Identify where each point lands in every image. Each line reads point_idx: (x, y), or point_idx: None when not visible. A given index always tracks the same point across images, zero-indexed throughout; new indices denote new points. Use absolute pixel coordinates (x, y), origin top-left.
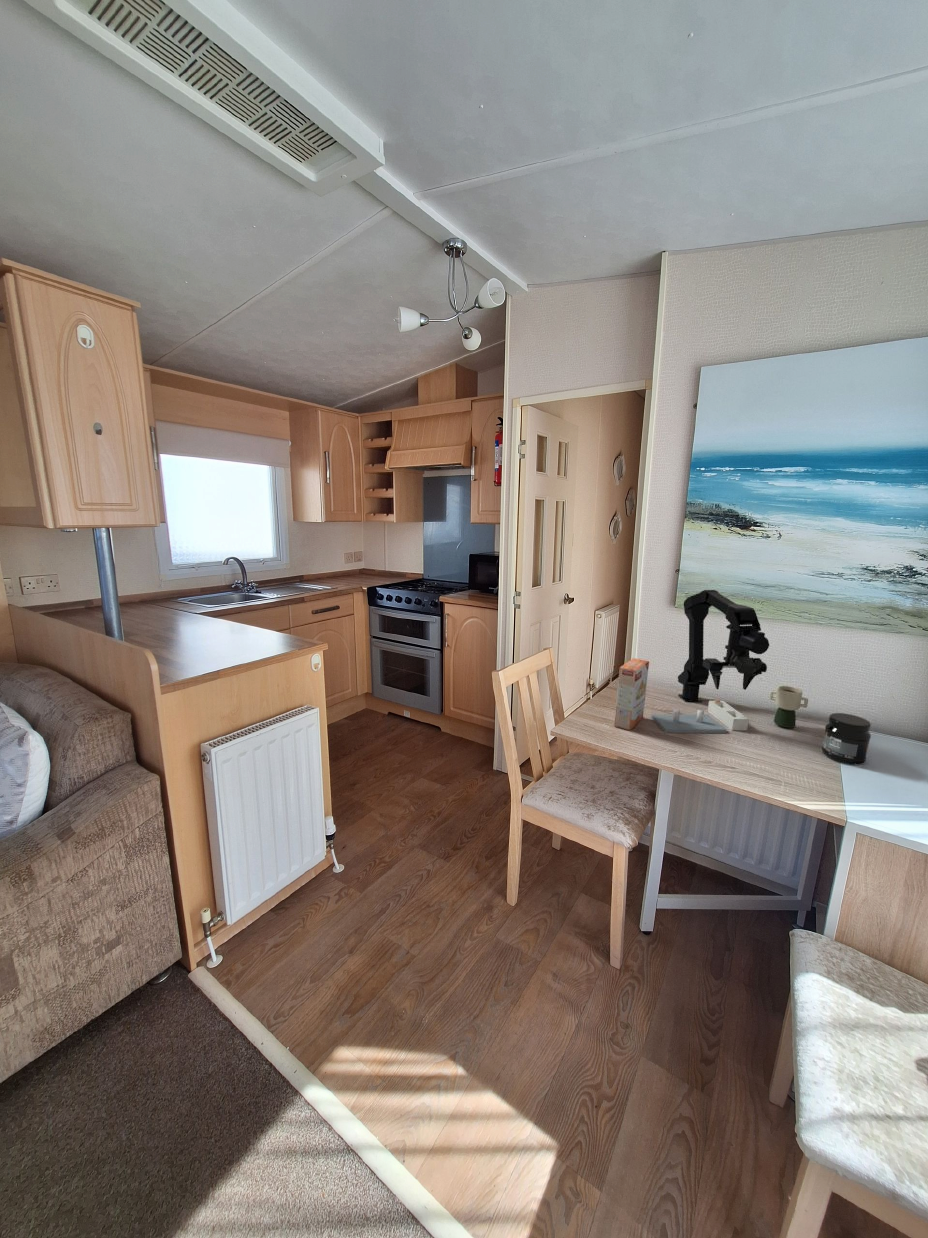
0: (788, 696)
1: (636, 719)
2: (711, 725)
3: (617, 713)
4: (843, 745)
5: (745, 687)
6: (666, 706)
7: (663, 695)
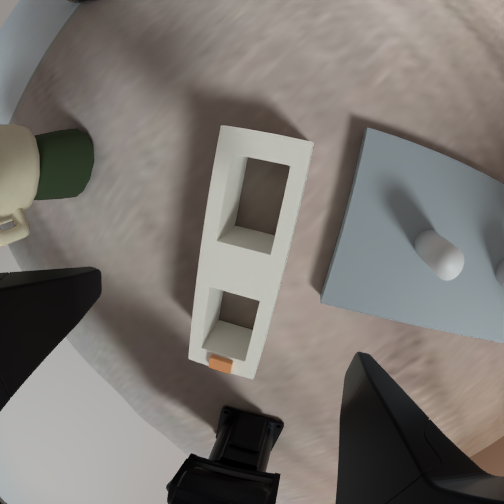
0: None
1: None
2: (408, 188)
3: None
4: None
5: (83, 273)
6: None
7: (314, 459)
